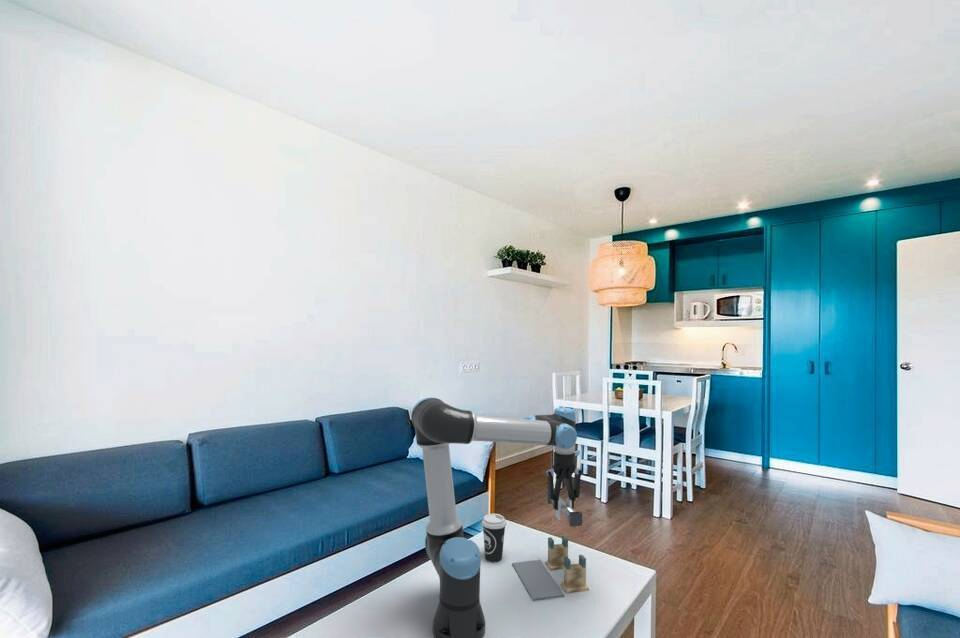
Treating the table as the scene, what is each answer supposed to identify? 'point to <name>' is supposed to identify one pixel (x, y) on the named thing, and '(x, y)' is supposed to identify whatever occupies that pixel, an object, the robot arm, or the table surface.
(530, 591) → the pad
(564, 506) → the rail
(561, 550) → the post far
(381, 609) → the table surface
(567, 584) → the post near
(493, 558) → the coffee cup
